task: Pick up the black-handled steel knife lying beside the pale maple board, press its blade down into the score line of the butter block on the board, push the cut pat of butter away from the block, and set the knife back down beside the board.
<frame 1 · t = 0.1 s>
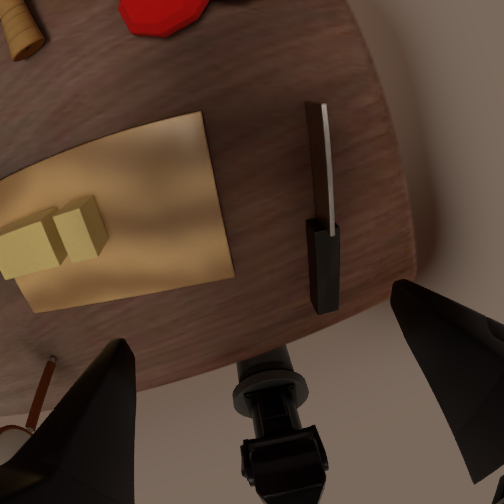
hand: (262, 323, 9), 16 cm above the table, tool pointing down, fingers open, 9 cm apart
butter slice: (88, 220, 22), point 1 cm above the table, touching board
magnifying glass: (54, 356, 30), on the table
butter block: (35, 236, 22), point 1 cm above the table, touching board
knife: (320, 270, 29), on the table
board: (94, 226, 23), on the table
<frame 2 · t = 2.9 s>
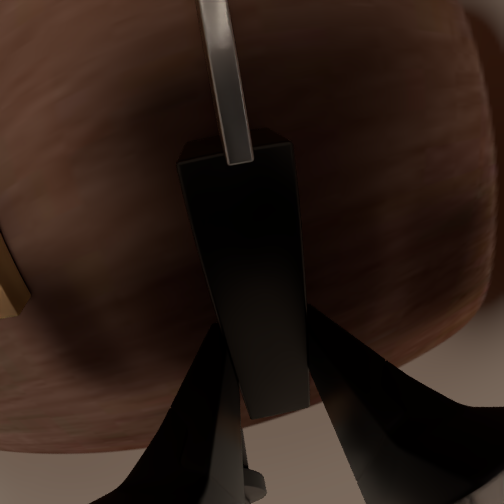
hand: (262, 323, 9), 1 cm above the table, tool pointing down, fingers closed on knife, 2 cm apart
knife: (257, 303, 10), on the table, touching gripper
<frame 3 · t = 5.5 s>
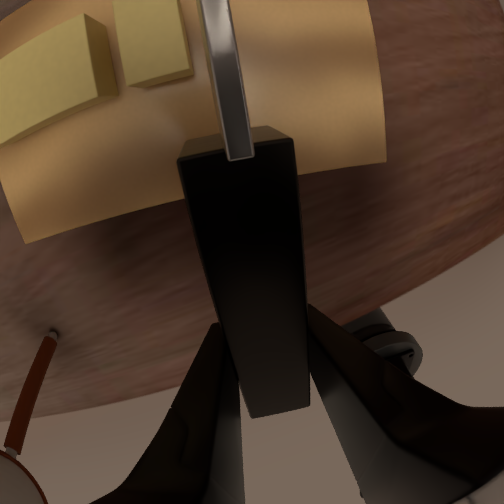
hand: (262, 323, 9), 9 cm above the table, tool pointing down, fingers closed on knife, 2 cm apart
butter slice: (160, 43, 11), point 1 cm above the table, touching board
magnifying glass: (55, 331, 20), on the table
butter block: (51, 85, 11), point 1 cm above the table, touching board
knife: (257, 301, 10), point 8 cm above the table, touching gripper
board: (162, 66, 13), on the table
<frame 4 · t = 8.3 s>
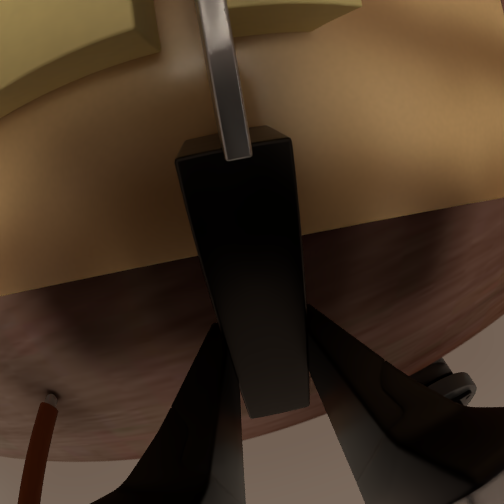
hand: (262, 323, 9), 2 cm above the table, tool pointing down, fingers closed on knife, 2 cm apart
magnifying glass: (53, 392, 14), on the table
butter block: (37, 35, 5), point 1 cm above the table, touching board
knife: (256, 301, 10), point 1 cm above the table, touching butter slice, gripper
board: (237, 15, 7), on the table
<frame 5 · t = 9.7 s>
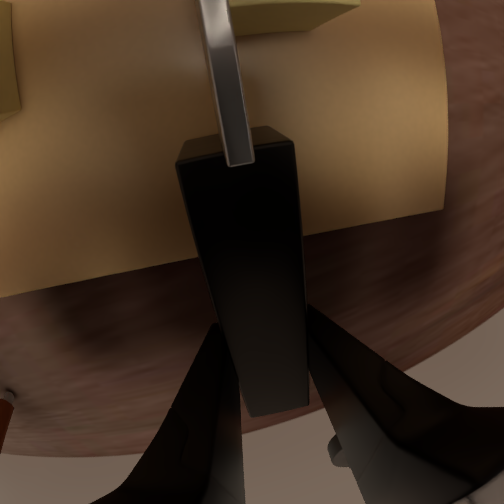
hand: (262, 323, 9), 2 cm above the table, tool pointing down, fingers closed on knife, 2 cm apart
magnifying glass: (11, 390, 14), on the table
knife: (257, 301, 10), point 1 cm above the table, touching butter slice, gripper
board: (93, 53, 7), on the table
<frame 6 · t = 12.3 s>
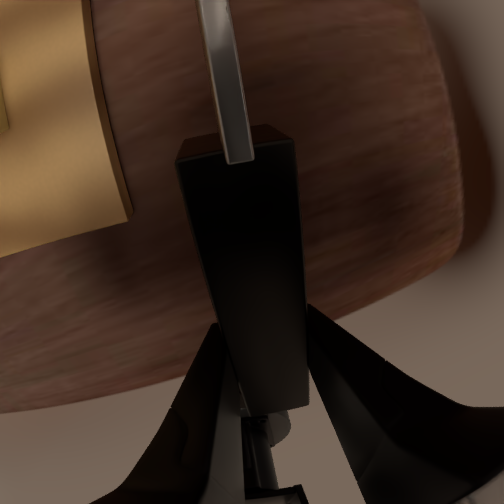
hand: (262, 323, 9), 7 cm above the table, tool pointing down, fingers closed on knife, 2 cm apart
knife: (257, 300, 10), point 6 cm above the table, touching gripper
when the fingers open (1 cm above the table, at t = 13.8 s): knife stays where it is, on the table.
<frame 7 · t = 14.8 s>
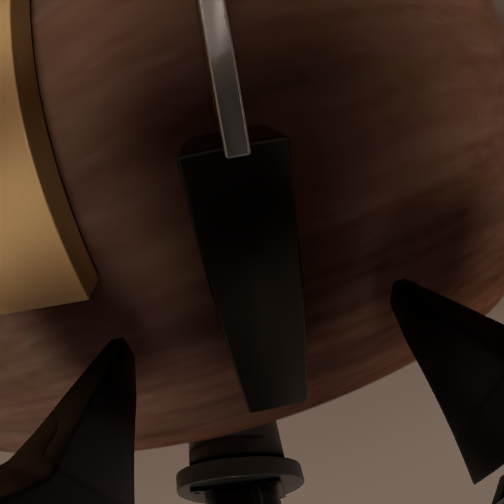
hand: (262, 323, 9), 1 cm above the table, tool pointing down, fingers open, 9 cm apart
knife: (256, 296, 10), on the table
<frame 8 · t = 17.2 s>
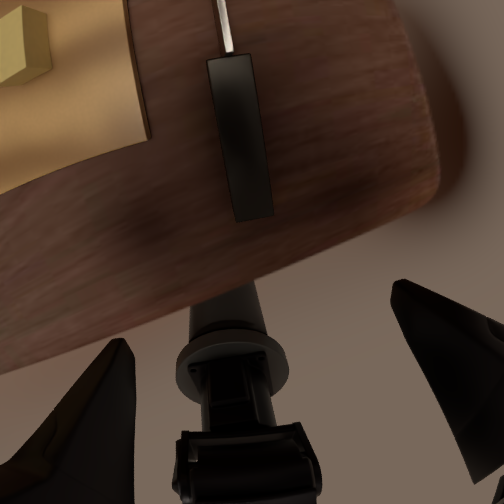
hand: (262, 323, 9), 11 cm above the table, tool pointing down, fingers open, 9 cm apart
butter slice: (32, 49, 11), point 1 cm above the table, touching board
knife: (240, 150, 17), on the table
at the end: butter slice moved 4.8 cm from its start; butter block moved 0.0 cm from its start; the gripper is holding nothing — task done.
